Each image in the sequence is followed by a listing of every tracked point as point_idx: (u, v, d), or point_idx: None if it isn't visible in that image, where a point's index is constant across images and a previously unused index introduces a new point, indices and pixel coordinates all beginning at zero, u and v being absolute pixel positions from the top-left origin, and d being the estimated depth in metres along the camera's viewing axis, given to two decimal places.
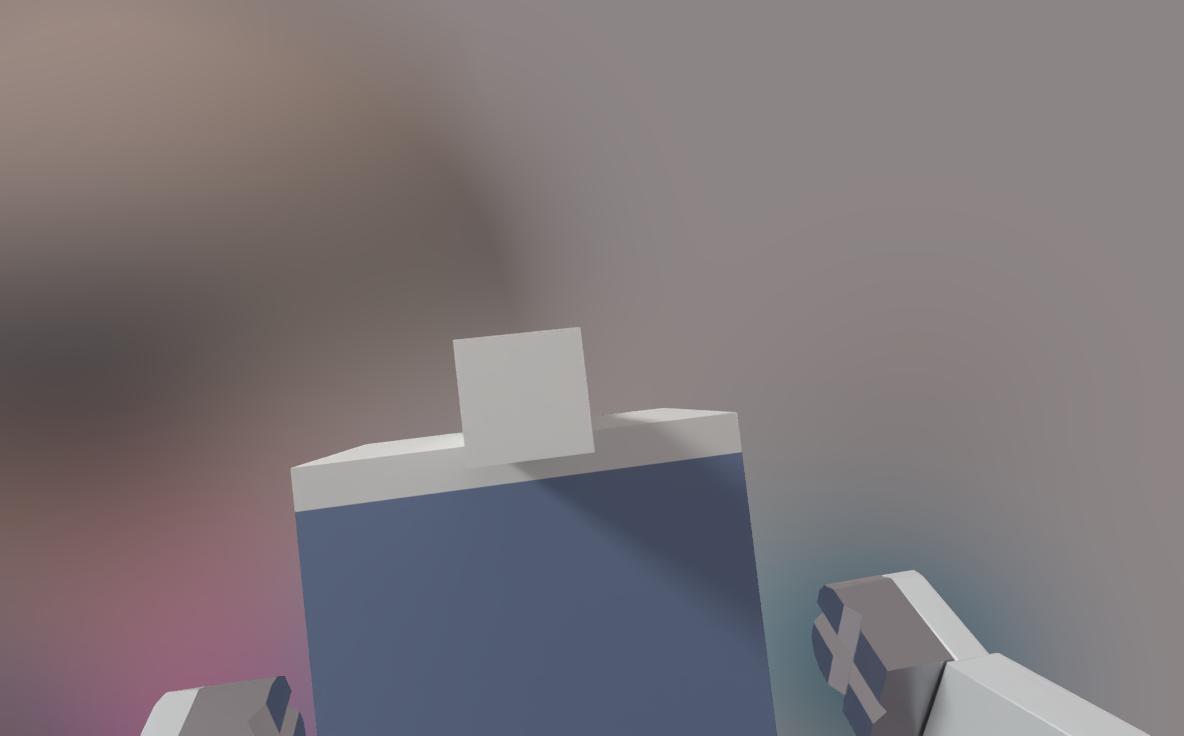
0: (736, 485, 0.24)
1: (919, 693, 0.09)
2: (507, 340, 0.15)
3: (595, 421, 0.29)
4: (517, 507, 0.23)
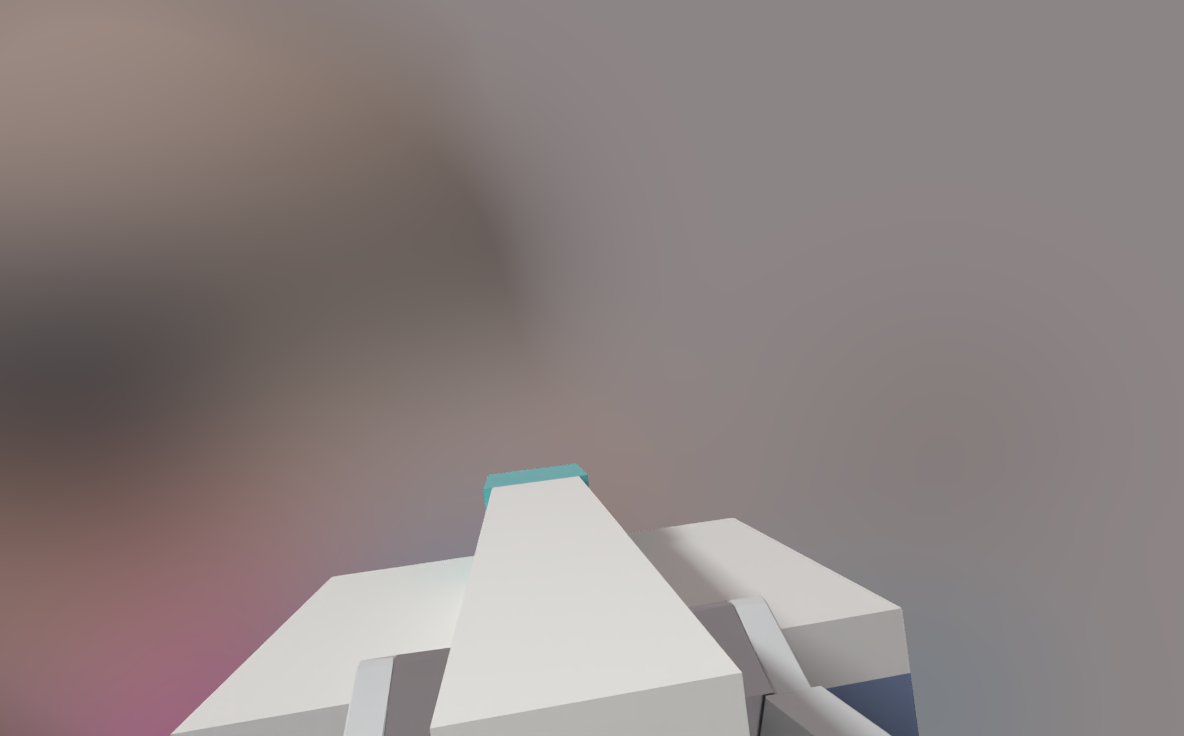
0: (902, 727, 0.15)
1: None
2: (566, 720, 0.06)
3: None
4: None
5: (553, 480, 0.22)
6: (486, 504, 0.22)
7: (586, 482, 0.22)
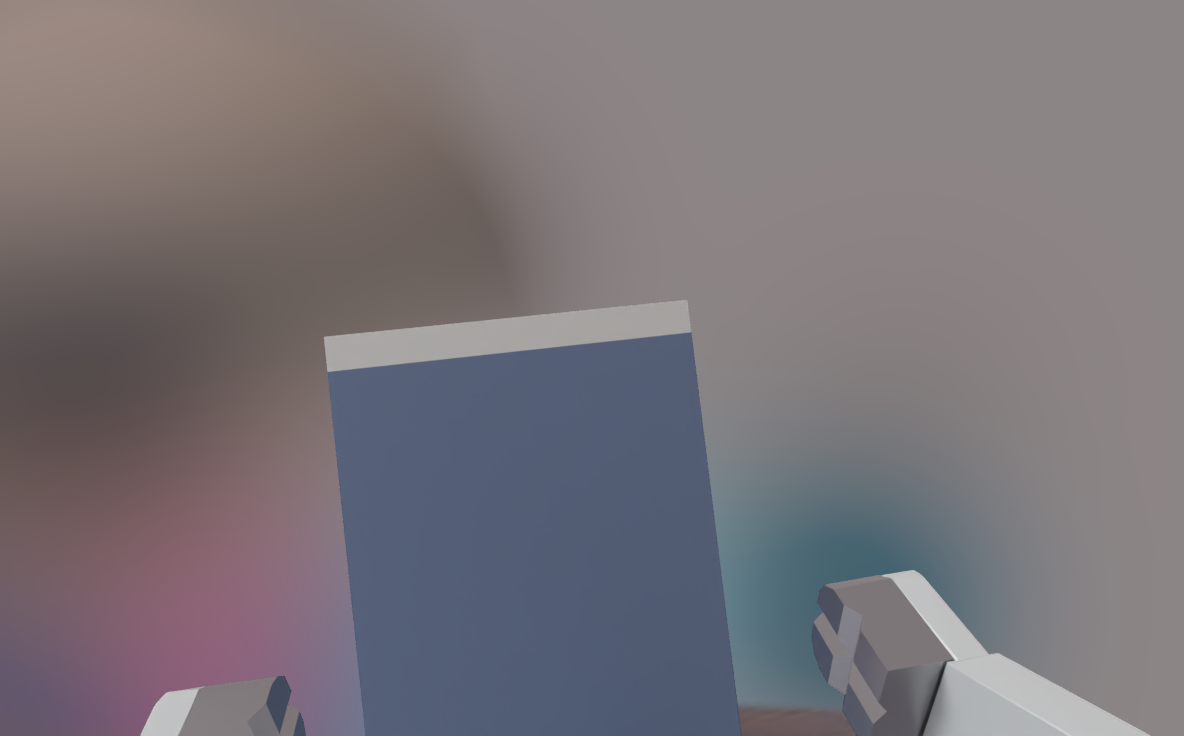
0: (686, 359, 0.29)
1: (919, 693, 0.09)
2: None
3: None
4: (506, 372, 0.28)
5: None
6: None
7: None
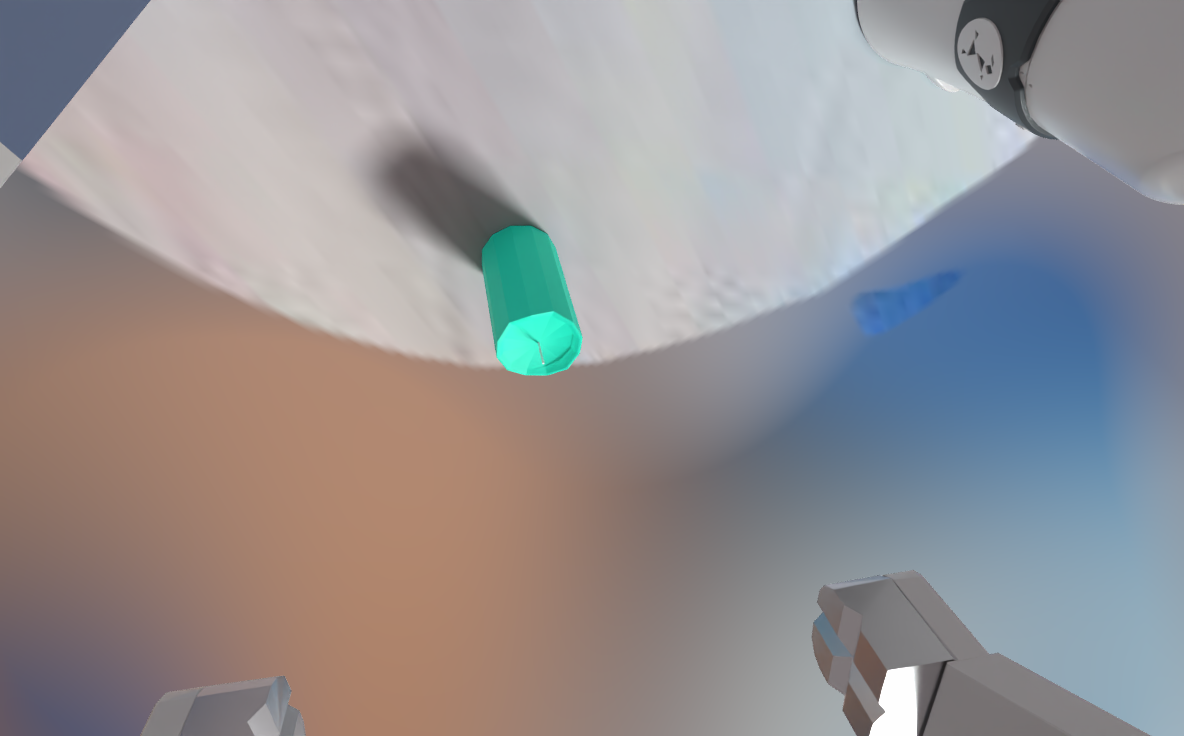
0: None
1: (919, 693, 0.09)
2: None
3: None
4: None
5: None
6: None
7: None
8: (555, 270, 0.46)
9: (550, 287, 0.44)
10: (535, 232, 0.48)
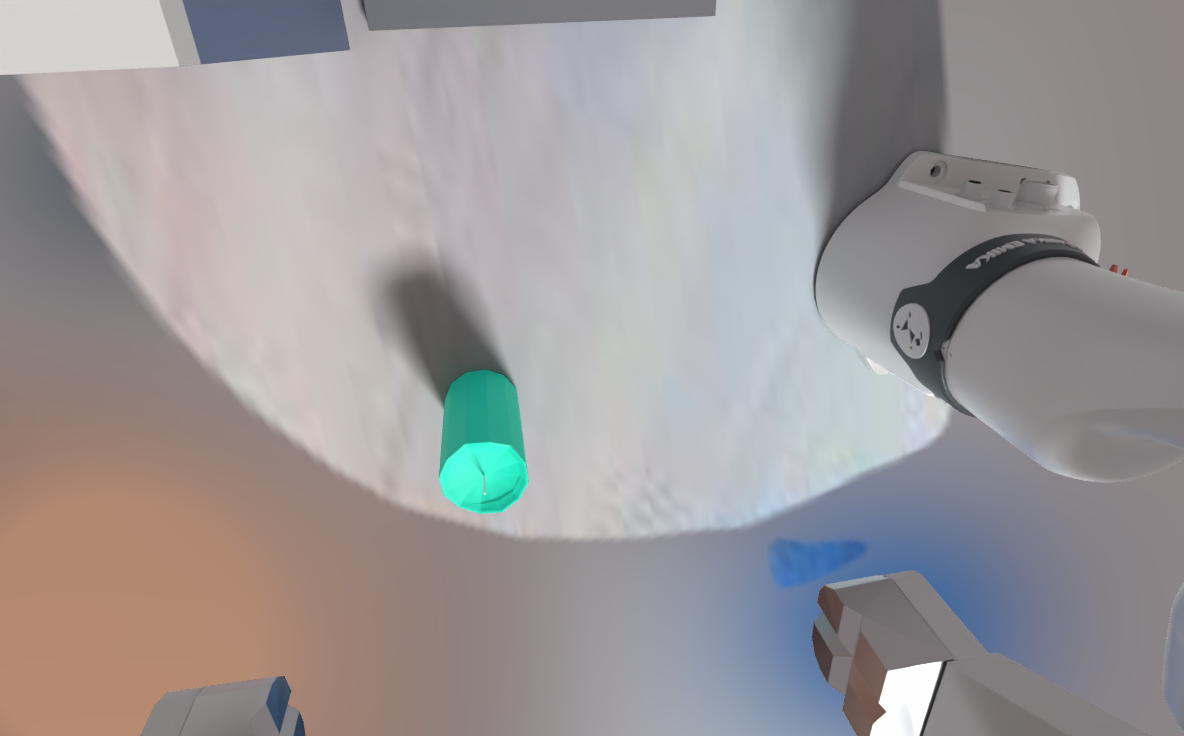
0: None
1: (919, 693, 0.09)
2: None
3: None
4: None
5: None
6: None
7: None
8: (517, 417, 0.47)
9: (511, 426, 0.45)
10: (507, 381, 0.51)
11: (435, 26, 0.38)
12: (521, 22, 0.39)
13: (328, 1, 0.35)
